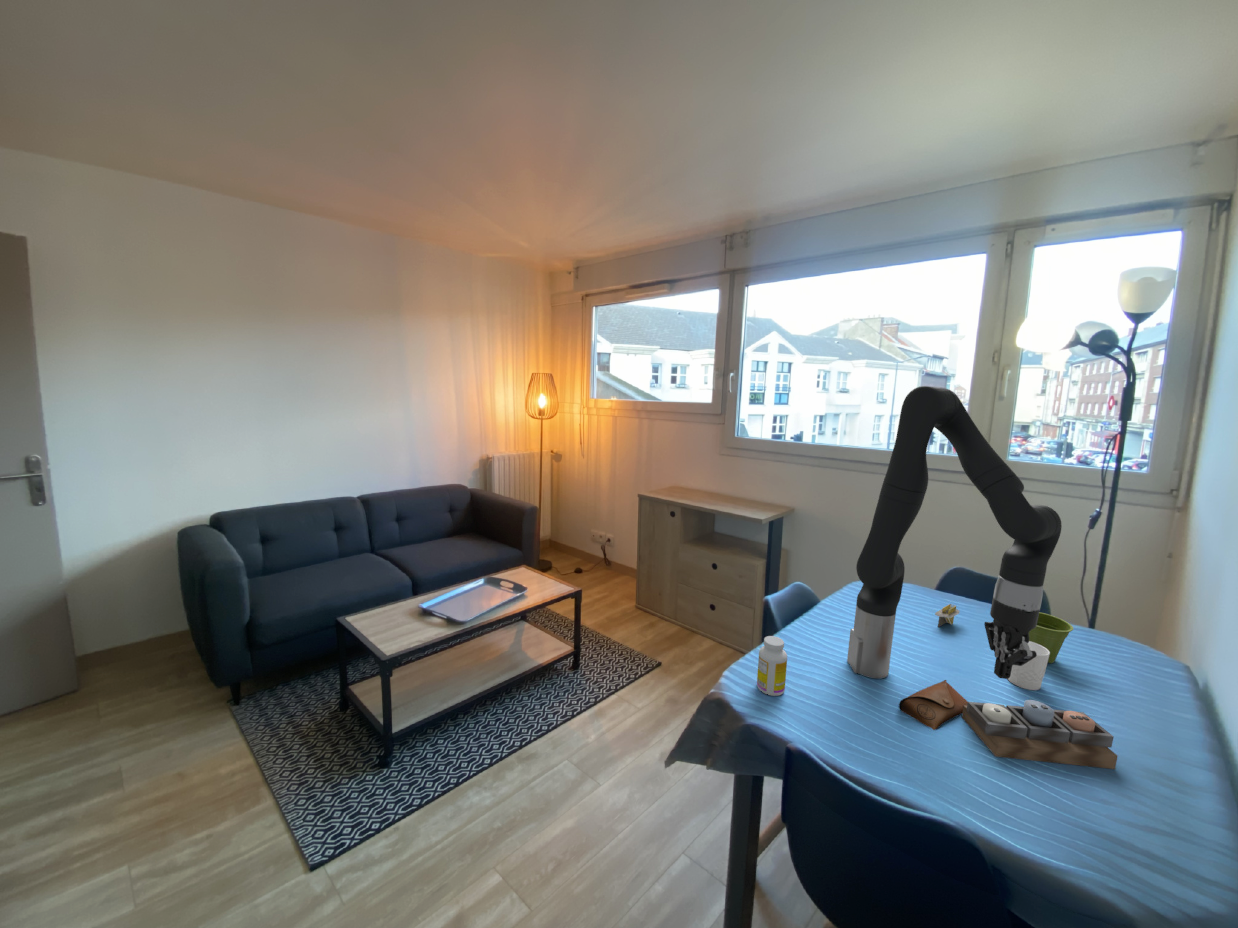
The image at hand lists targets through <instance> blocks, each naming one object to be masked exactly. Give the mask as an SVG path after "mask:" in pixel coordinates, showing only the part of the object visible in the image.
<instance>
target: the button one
mask: <svg viewBox="0 0 1238 928" xmlns="http://www.w3.org/2000/svg"><path fill="white" fill-rule="evenodd" d="M985 703H986V704H984V705H983V710H982V714H983V715H984V716H985V717H986V718H987V719H988V720H989V721H990V722H994V723H1004V724H1010V721H1011V713H1010V712H1009V711H1008V710H1007V709H1005V708H1003V707H1001V706H999V705H1000V704H999V705H996V704H997V703H996V704H995V703H991V702H990V703H989V702H985Z"/></svg>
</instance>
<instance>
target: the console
mask: <svg viewBox="0 0 1238 928" xmlns="http://www.w3.org/2000/svg"><path fill="white" fill-rule="evenodd" d="M986 703H987V702H975V701H968V703H967V706H966V705H964V706H963V712H962V714H961V718H962V720H964V722H965V723H966V724H967V725H968V726H969V727H970V729H971V730H972V731H973V732H974V734H976V735H977V737H978V738H979V739H980V740H981V741H982V743H983V744H984V745H985V746H986V747H987V748H988V749H989V751H990V752H991V753H992V755H993V756H995V757H996V758H997V757H998V758H1007V759H1015V760H1016V759H1017V760H1025V761H1034V762H1035V761H1036V762H1045V763H1053V764H1064V765H1075V766H1082V767H1083V766H1084V767H1093V768H1101V769H1110V770H1111V769H1112V770H1115V769H1116V765H1117V760H1118V757H1119V755H1118V754H1116V753H1115V752H1114V751H1113V750H1112V749H1111V748H1112V747H1113V743H1114V737H1115V736H1113V735H1112V734H1111V733H1110V732H1109V731H1108V730H1106V729H1105V728H1104V727H1103V726H1101V725H1100V724H1098V723H1097V722H1096V721H1095V720H1094V719H1092V720H1093V721H1094V722H1095V728H1094V732H1086V731H1076V730H1074V729H1072V728H1071V727H1070V726H1069V725H1068V724H1067V723H1066V722H1064V721H1063V715H1064V712H1065V711H1066V710H1064V709H1063V710H1062V709H1061V710H1060V709H1053V710H1054V717H1053V723H1052V727H1050V728H1045V727H1039V726H1036V725H1034V724H1032V723H1030V722H1028V721H1027V720H1025V719H1024V718H1023V716H1022V713H1023V708H1024V706H1020V705H1019V706H1018V705H1008V704H1007V705H1006V706H1005V705H1004V704H999V703H998V704H997V703H996V705H999V706H1001V707H1003V708H1005V709H1007V710H1008V711H1009V712H1010V713H1011V721H1010V724H1004V723H994V722H990V721H989V720H988V719H987V718H986V717H985V716H984V715H983V714H982V710H983V705H984V704H986ZM1077 712H1078V713H1081V714H1084V715H1086V716H1088V717H1089V718H1091V717H1090V716H1089V715H1087V714H1086V713H1085V712H1084V711H1083V712H1082V711H1077Z"/></svg>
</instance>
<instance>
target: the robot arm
mask: <svg viewBox="0 0 1238 928" xmlns="http://www.w3.org/2000/svg"><path fill="white" fill-rule="evenodd" d="M900 409H901V410H900V414H899V421H898V427H897V432H896V437H895V442H894V446H893V449H892V452H891V456H890V460H889V462H888V463H889V464H888V467H887V470H886V473H885V477H884V479H883V483H882V484H881V489H880V492H879V494H878V495H879V496H878V500H877V503H876V507H875V511H874V515H873V518H872V523H871V526H870V531H869V533H868V535H867V538H866V541H865V543H864V545H863V548H862V549H861V552H860V554H859V556H858V559H857V561H856V567H855V570H856V574H857V577H858V579H859V580H860V582H861V583H862V586H861V588H860V591H859V592H858V594H857V595H856V596H857V597H856V605H855V615H854V622H853V628H851V629H850V631H849V640H848V648H847V649H848V650H847V658H846V661H847V663H848V664H850V665H849V666H850V668H851V667H852V668H851V670H852V671H853V673H854V674H857V673H858V674H857V675H861V676H864V677H868V678H870V679H884V678H886V677H888V676H889V671H890V665H891V664H890V663H891V654H892V648H893V647H892V646H893V639H894V632H895V623H896V622H895V621H896V615H897V609H898V605H899V604H900V601H901V597H902V591H903V586H904V585H903V584H904V579H905V568H906V567H905V563H904V559H903V558H902V556H901V555H900V553H899V550H900V547H901V544H902V541H903V539H904V537H905V536H906V534H907V532H908V531H909V529H910V528H911V526H912V525H913V523H914V521H915V519H916V518H917V517H918V514H919V512H920V510H921V507H922V505H923V502H924V499H925V496H926V493H927V489H928V486H929V470H928V462H927V450H928V445H929V443H930V439H931V436H932V433H933V431H934V428H935V429H936V430H938V432H939V433H940V434H942V435H943V436H944V437H945V438H946V439H947V440H948V442H949V443H950V444H951V445H952V447H953V448H954V450H955V453H956V455H957V457H958V460H959V463H960V465H961V467H962V469H963V471H964V473H965V475H966V476H967V478H968V479H969V480H970V481H971V483H972V484H973V485H974V486H975V488H976V489H977V490H978V491H979V493H981V496H982V497H984V498H985V500H986V501H987V503H988V505H989V508H990V510H991V512H992V514H993V516H994V518H995V520H996V522H997V523H998V526H999V527H1000V528H1001V529H1002V530H1003V532H1004V533H1005V534H1006V535H1008V536H1009V537H1010V538H1011V539H1013V543H1012V545H1011V546H1010V547H1009V548H1008V549H1006V550H1005V552H1003V555H1002V557H1001V562H1000V566H999V572H998V578H997V580H996V583H995V584H994V590H993V596H992V600H991V601H992V602H991V607H990V611H989V614H990V616H991V618H992V620H993V621H990V622H989V621H985V622H984V629H985V633H986V637H987V641H988V647H989V649H990V650H991V651H994V657H995V663H994V667H993V668H994V669H993V673H994V674H995V676H997V678H998V679H1005V680H1008V678H1009V677H1010V675H1011V670H1012V666H1013V665H1018V666H1022V665H1024V664H1025V663H1027V662H1029V661H1030V660H1032V659H1033V658H1035V657H1036V656H1037V654H1036V652H1035V651H1031V650H1030V648H1029V646H1028V644H1027V643H1029V631H1031V630H1032V629H1034V628H1036V626H1037V621H1038V616H1039V612H1040V611H1041V606H1042V601H1043V596H1044V595H1043V594H1044V593H1043V592H1044V591H1043V590H1044V583H1045V578H1046V573H1047V567H1048V563H1049V561H1050V559H1051V557H1052V556H1053V553H1054V551H1055V548H1056V547H1057V544H1058V542H1059V539H1060V536H1061V533H1062V520H1061V517H1060V515H1059V514H1058V512H1057V511H1056V510H1055V509H1054V508H1052V507H1049V506H1048V505H1043V504H1033V505H1031V504H1030V502H1029V501H1028V500H1027V498H1026V496H1025V494H1023V492H1024V490H1025V486H1024V483H1023V482H1022V480H1021V479H1020V478H1019V476H1018V475H1017V474H1016V473H1015V472H1014V471H1013V470H1012V469H1011V467H1010V466H1009V465H1008V463H1006V462H1005V461H1004V460H1003V459H1002V458H1001V456H1000V455H999V454H998V453H997V452H996V451H995V449H994V448H993V447H992V445H991V444H989V442H988V441H987V439H986V438H985V437H984V435H983V434H982V433H981V431H980V430H979V428H978V426H977V425H976V424H975V422H974V420H973V419H972V418H971V416H970V414H969V412H968V411H967V409H966V407H965V406H964V404H963V402H962V400H960V398H959V396H958V395H957V394H956V393H955V392H954V391H953V390H952V389H950V388H949V389H948V388H945V387H939V386H930V385H921V386H917V387H915V388H913V389H911V390H910V392H908V393H907V395H906V396H905V397H904V400H903V402H902V405H901V408H900Z"/></svg>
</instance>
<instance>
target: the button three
mask: <svg viewBox="0 0 1238 928" xmlns="http://www.w3.org/2000/svg"><path fill="white" fill-rule="evenodd" d="M1064 711H1065V712H1064V715H1063V721H1064V722H1066V723H1067V724H1068V725H1069V726H1070V727H1071V728H1072V729H1074V730H1076V731H1086V732H1094V728H1095V722H1096V721H1095V720H1094V719H1092V718H1091V717H1090V716H1089V715H1087V714H1086V715H1087V716H1086V715H1084V714H1081V713H1078V712H1079V711H1074V710H1064ZM1088 716H1089V717H1090V718H1089V717H1088ZM1093 720H1094V721H1095V722H1094V721H1093Z"/></svg>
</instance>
